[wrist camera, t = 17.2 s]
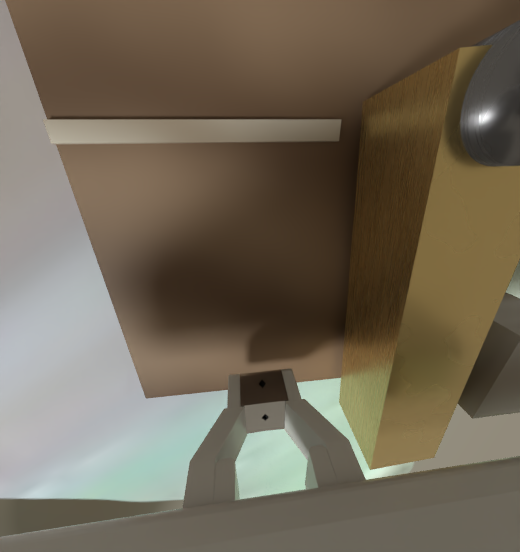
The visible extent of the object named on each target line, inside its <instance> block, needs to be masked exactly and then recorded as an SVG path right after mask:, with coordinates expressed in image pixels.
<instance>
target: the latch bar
mask: <svg viewBox="0 0 520 552" xmlns="http://www.w3.org/2000/svg"><path fill="white" fill-rule="evenodd" d="M519 260H520V20H519V21H517V22H515V23H513V24H511V25H509V26H508V27H506V28H504V29H502V30H500V31H498V32H496V33H494V34H493V35H491V36H489V37H487V38H485V39H483V40H481V41H480V42H478V43H476V44H474V45H472V46H470V47H462V48H459V49H457V50H455V51H453V52H451V53H450V54H448V55H446V56H444V57H442V58H441V59H439V60H437V61H435V62H433V63H432V64H430V65H428V66H426V67H424V68H423V69H421V70H419V71H417V72H415V73H414V74H412V75H410V76H408V77H406V78H405V79H403V80H401V81H399V82H398V83H396V84H394V85H392V86H390V87H389V88H387V89H385V90H383V91H381V92H380V93H378V94H376V95H374V96H372V97H371V98H369V99H367V100H365V101H363V106H362V119H361V132H360V144H359V157H358V170H357V183H356V195H355V208H354V221H353V234H352V246H351V259H350V272H349V285H348V297H347V310H346V323H345V336H344V348H343V361H342V374H341V386H340V399H339V403H340V405H341V407H342V410H343V412H344V414H345V416H346V418H347V420H348V423H349V425H350V427H351V429H352V431H353V434H354V436H355V438H356V440H357V442H358V444H359V447H360V449H361V451H362V453H363V455H364V457H365V460H366V462H367V464H368V466H369V468H370V470H371V469H377V468H382V467H387V466H392V465H398V464H403V463H408V462H413V461H419V460H424V459H429V458H434V456H435V454H436V452H437V450H438V447H439V445H440V443H441V440H442V438H443V436H444V433H445V431H446V429H447V426H448V424H449V422H450V420H451V417H452V415H453V412H454V410H455V408H456V405H457V403H458V401H459V399H460V396H461V394H462V392H463V389H464V387H465V385H466V382H467V380H468V378H469V375H470V373H471V371H472V369H473V366H474V364H475V362H476V359H477V357H478V355H479V352H480V350H481V348H482V345H483V343H484V341H485V338H486V336H487V334H488V331H489V329H490V327H491V324H492V322H493V320H494V318H495V315H496V313H497V311H498V308H499V306H500V304H501V301H502V299H503V297H504V294H505V292H506V290H507V287H508V285H509V283H510V280H511V278H512V276H513V273H514V271H515V269H516V267H517V264H518V262H519Z"/></svg>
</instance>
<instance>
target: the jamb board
mask: <svg viewBox="0 0 520 552" xmlns="http://www.w3.org/2000/svg"><path fill="white" fill-rule="evenodd" d="M5 1H6V4H7V7H8V9H9V12H10V15H11V18H12V21H13V23H14V26H15V29H16V32H17V35H18V38H19V40H20V43H21V46H22V49H23V52H24V55H25V57H26V60H27V63H28V66H29V69H30V72H31V74H32V77H33V80H34V83H35V86H36V89H37V91H38V94H39V97H40V100H41V103H42V106H43V108H44V111H45V114H46V117H47V120H43V122H44V124H45V127H46V130H47V133H48V135H49V138H50V141H51V144H56V145H57V148H58V151H59V154H60V156H61V159H62V162H63V165H64V168H65V171H66V173H67V176H68V179H69V182H70V185H71V188H72V190H73V193H74V196H75V199H76V202H77V205H78V207H79V210H80V213H81V216H82V219H83V221H84V224H85V227H86V230H87V233H88V236H89V238H90V241H91V244H92V247H93V250H94V253H95V255H96V258H97V261H98V264H99V267H100V270H101V272H102V275H103V278H104V281H105V284H106V287H107V289H108V292H109V295H110V298H111V301H112V303H113V306H114V309H115V312H116V315H117V318H118V320H119V323H120V326H121V329H122V332H123V335H124V337H125V340H126V343H127V346H128V349H129V352H130V354H131V357H132V360H133V363H134V366H135V369H136V371H137V374H138V377H139V380H140V383H141V386H142V388H143V391H144V394H145V397H146V398H154V397H164V396H173V395H182V394H192V393H201V392H211V391H220V390H228V377H229V375H233V374H243V373H256V372H263V371H271V370H279V369H289V368H291V369H292V370H293V373H294V377H295V380H296V382H304V381H314V380H323V379H333V378H341V374H342V361H343V348H344V336H345V323H346V310H347V297H348V285H349V272H350V259H351V246H352V234H353V221H354V208H355V195H356V183H357V170H358V157H359V144H360V132H361V119H362V106H363V101H365V100H367V99H369V98H371V97H372V96H374V95H376V94H378V93H380V92H381V91H383V90H385V89H387V88H389V87H390V86H392V85H394V84H396V83H398V82H399V81H401V80H403V79H405V78H406V77H408V76H410V75H412V74H414V73H415V72H417V71H419V70H421V69H423V68H424V67H426V66H428V65H430V64H432V63H433V62H435V61H437V60H439V59H441V58H442V57H444V56H446V55H448V54H450V53H451V52H453V51H455V50H457V49H459V48H462V47H470V46H472V45H474V44H476V43H478V42H480V41H481V40H483V39H485V38H487V37H489V36H491V35H493V34H494V33H496V32H498V31H500V30H502V29H504V28H506V27H508V26H509V25H511V24H513V23H515V22H517V21H519V20H520V0H5ZM458 404H459V405H460V406H461V407H462V408H463V409H464V410H465V411H466V412H467V413H468V414H469V415H470V416H471V418H479V417H487V416H495V415H503V414H511V413H518V412H520V299H519V298H517V297H515V296H513V295H510V294H508V293H506V292H505V294H504V297H503V299H502V301H501V304H500V306H499V308H498V311H497V313H496V315H495V318H494V320H493V322H492V324H491V327H490V329H489V331H488V334H487V336H486V338H485V341H484V343H483V345H482V348H481V350H480V352H479V355H478V357H477V359H476V362H475V364H474V366H473V369H472V371H471V373H470V375H469V378H468V380H467V382H466V385H465V387H464V389H463V392H462V394H461V396H460V399H459V401H458Z"/></svg>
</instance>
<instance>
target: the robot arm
mask: <svg viewBox="0 0 520 552" xmlns="http://www.w3.org/2000/svg"><path fill="white" fill-rule="evenodd" d="M276 429H285V431H286V432H287V433H288V435H289V436H290V437H291V439H292V440H293V441H294V443H295V444H296V445H297V447H298V448H299V449H300V451H301V452H302V453H303V455H304V456H305V457H306V459H307V460H308V463H307V471H306V480H305V486H306V489H305V490H298V491H292V492H285V493H279V494H272V495H266V496H260V497H253V498H247V499H240V500H239V488H238V481H237V474H236V467H235V461H236V459H237V457H238V454H239V452H240V450H241V447H242V445H243V443H244V440H245V438H246V436H247V434H248V433H254V432H260V431H266V430H276ZM0 552H520V456H516V457H510V458H503V459H497V460H491V461H484V462H479V463H472V464H466V465H459V466H452V467H446V468H439V469H433V470H427V471H420V472H414V473H407V474H401V475H395V476H388V477H382V478H375V479H369V480H366V479H365V477H364V475H363V472H362V470H361V468H360V465H359V463H358V461H357V458H356V456H355V454H354V451H353V449H352V447H351V444H350V442H349V440H348V439H347V438H346V437H345V436H344V435H343V434H342V433H340V432H339V431H338V430H337V429H336V428H335V427H334V426H333V425H332V424H331V423H330V422H329V421H328V420H327V419H325V418H324V417H323V416H322V415H321V414H320V413H319V412H318V411H317V410H316V409H315V408H314V407H313V406H311V405H310V404H309V403H308V402H307V401H306V400H305V399H301V396H300V393H299V390H298V386H297V383H296V380H295V377H294V373H293V370H292V369H291V368H289V369H279V370H271V371H263V372H256V373H243V374H233V375H229V377H228V407H227V408H226V409H224V410H223V411H222V413H221V414H220V416H219V418H218V419H217V421H216V422H215V424H214V425H213V427H212V428H211V430H210V431H209V433H208V435H207V436H206V438H205V439H204V441H203V442H202V444H201V445H200V447H199V449H198V450H197V452H196V453H195V455H194V456H193V458H192V459H191V461H190V465H189V471H188V477H187V484H186V490H185V496H184V503H183V509H176V510H170V511H163V512H157V513H151V514H144V515H138V516H132V517H125V518H119V519H113V520H106V521H99V522H93V523H87V524H80V525H74V526H67V527H61V528H55V529H48V530H42V531H36V532H30V533H23V534H16V535H10V536H3V537H0Z"/></svg>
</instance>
